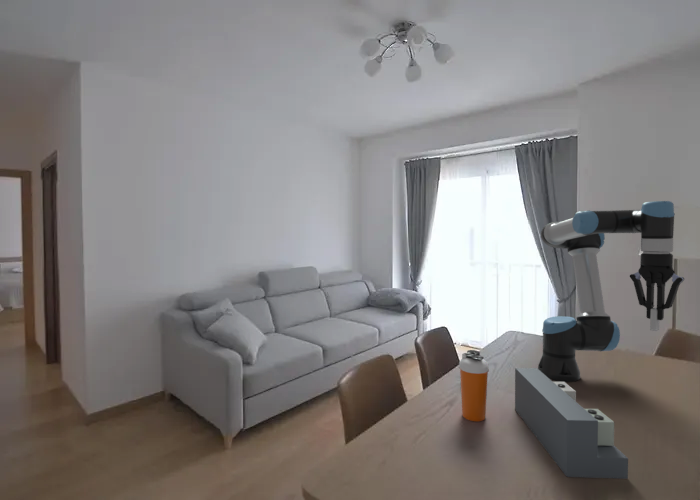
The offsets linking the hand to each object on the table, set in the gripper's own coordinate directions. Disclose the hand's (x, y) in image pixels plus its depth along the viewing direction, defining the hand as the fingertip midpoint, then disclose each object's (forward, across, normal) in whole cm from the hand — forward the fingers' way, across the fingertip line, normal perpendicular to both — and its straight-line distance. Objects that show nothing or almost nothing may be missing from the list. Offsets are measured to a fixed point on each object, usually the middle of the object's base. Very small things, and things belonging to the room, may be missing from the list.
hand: (654, 329), depth 113 cm
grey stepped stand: (+28, +12, +32) cm, 44 cm away
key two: (+23, +3, +35) cm, 42 cm away
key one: (+23, +16, +23) cm, 37 cm away
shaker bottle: (+29, +35, +41) cm, 61 cm away
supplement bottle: (+29, +52, +18) cm, 62 cm away
